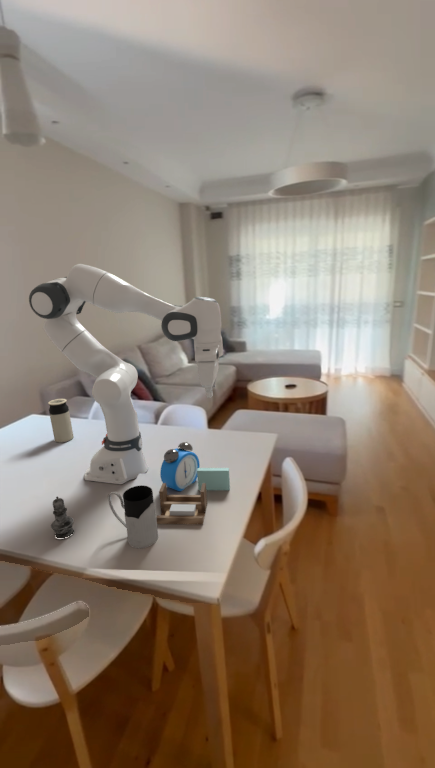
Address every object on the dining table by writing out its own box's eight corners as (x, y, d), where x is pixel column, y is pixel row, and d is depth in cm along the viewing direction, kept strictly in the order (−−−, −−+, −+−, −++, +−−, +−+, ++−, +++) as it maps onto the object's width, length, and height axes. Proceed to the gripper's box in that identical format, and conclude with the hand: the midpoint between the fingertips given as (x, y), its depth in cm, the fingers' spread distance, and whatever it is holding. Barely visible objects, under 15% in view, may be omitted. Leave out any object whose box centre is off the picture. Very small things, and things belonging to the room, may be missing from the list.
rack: (157, 528, 106) (154, 501, 104) (165, 507, 116) (163, 482, 113) (203, 529, 105) (201, 502, 102) (207, 507, 114) (205, 482, 112)
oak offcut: (165, 520, 107) (164, 515, 106) (167, 513, 110) (167, 508, 109) (196, 521, 106) (196, 516, 105) (198, 514, 109) (197, 509, 109)
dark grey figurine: (57, 528, 109) (49, 491, 105) (77, 526, 109) (71, 489, 106) (50, 541, 103) (42, 503, 100) (72, 539, 104) (64, 501, 100)
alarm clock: (175, 500, 119) (171, 456, 115) (161, 494, 123) (156, 452, 119) (201, 481, 129) (198, 440, 125) (187, 476, 133) (184, 437, 128)
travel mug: (69, 442, 166) (62, 403, 161) (51, 443, 166) (44, 404, 161) (76, 435, 173) (69, 397, 168) (59, 435, 174) (52, 398, 168)
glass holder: (148, 557, 95) (142, 506, 91) (103, 544, 101) (95, 495, 97) (166, 535, 103) (161, 487, 99) (124, 524, 109) (117, 478, 104)
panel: (198, 494, 122) (197, 470, 119) (199, 491, 123) (197, 467, 121) (229, 494, 121) (228, 470, 118) (230, 491, 122) (229, 467, 120)
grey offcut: (169, 515, 106) (169, 510, 106) (172, 509, 109) (171, 504, 109) (194, 516, 106) (194, 511, 105) (196, 509, 109) (195, 504, 108)
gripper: (203, 344, 128) (205, 383, 132) (193, 357, 108) (197, 402, 112) (221, 343, 127) (223, 382, 131) (215, 356, 108) (218, 402, 112)
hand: (211, 392), depth 122 cm, fingers open, 8 cm apart
